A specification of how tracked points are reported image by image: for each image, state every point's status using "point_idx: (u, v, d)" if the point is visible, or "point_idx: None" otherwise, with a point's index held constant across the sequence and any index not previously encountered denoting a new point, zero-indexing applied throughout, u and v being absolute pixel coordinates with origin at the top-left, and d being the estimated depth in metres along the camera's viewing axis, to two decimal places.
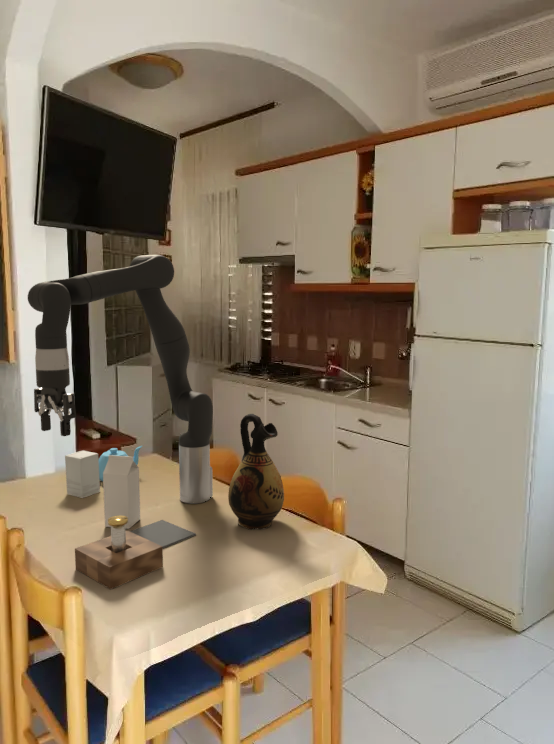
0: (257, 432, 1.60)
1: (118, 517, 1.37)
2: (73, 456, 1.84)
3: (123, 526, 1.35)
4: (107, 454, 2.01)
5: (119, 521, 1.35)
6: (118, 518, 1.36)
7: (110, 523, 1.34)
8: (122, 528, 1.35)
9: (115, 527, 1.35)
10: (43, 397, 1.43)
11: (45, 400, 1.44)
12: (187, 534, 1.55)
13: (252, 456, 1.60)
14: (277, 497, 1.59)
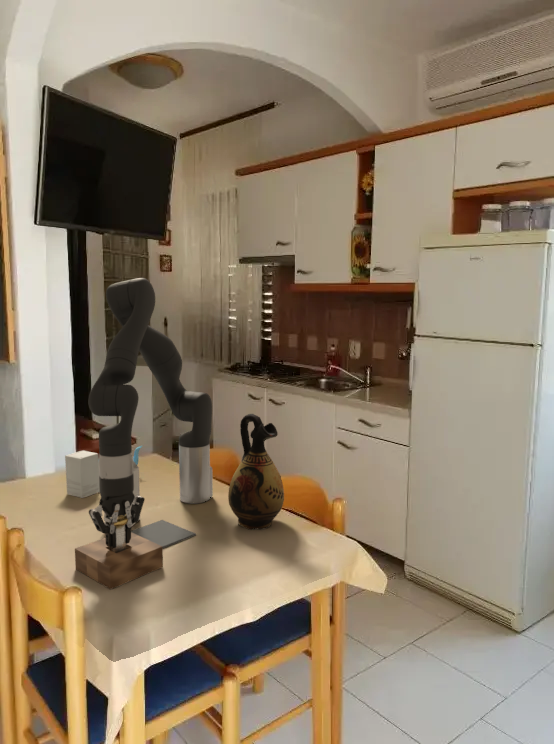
0: (257, 432, 1.60)
1: (118, 517, 1.37)
2: (73, 456, 1.84)
3: (123, 526, 1.35)
4: None
5: (119, 521, 1.35)
6: (118, 518, 1.36)
7: None
8: (123, 528, 1.35)
9: (115, 527, 1.35)
10: (117, 507, 1.33)
11: None
12: (187, 534, 1.55)
13: (252, 456, 1.60)
14: (277, 497, 1.59)
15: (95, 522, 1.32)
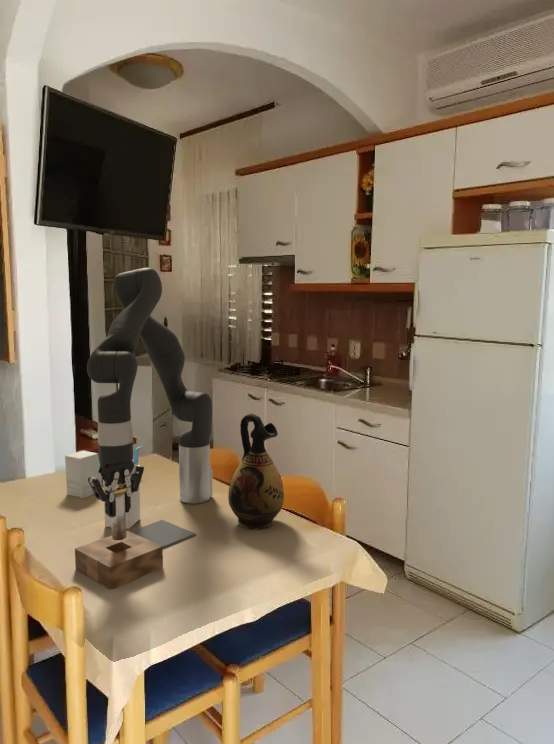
0: (257, 432, 1.60)
1: (118, 486, 1.36)
2: (73, 456, 1.84)
3: (123, 495, 1.34)
4: None
5: (119, 489, 1.34)
6: (117, 487, 1.35)
7: None
8: (122, 496, 1.34)
9: (115, 495, 1.34)
10: (116, 475, 1.32)
11: None
12: (187, 534, 1.55)
13: (252, 456, 1.60)
14: (277, 497, 1.59)
15: (94, 490, 1.31)
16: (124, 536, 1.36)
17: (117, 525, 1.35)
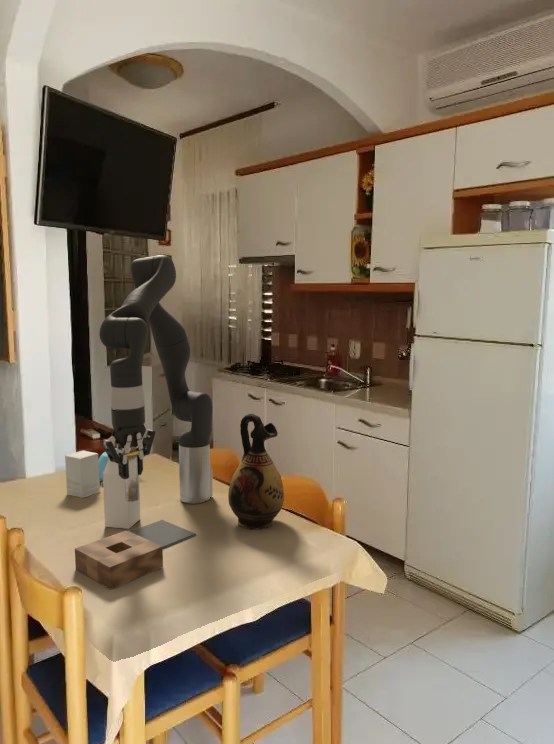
0: (257, 432, 1.60)
1: (130, 449, 1.40)
2: (73, 456, 1.84)
3: (135, 457, 1.39)
4: None
5: (131, 452, 1.38)
6: (130, 450, 1.40)
7: None
8: (135, 459, 1.39)
9: (127, 458, 1.38)
10: (129, 438, 1.36)
11: None
12: (187, 534, 1.55)
13: (252, 456, 1.60)
14: (277, 497, 1.59)
15: (108, 452, 1.35)
16: (137, 497, 1.40)
17: (130, 486, 1.39)
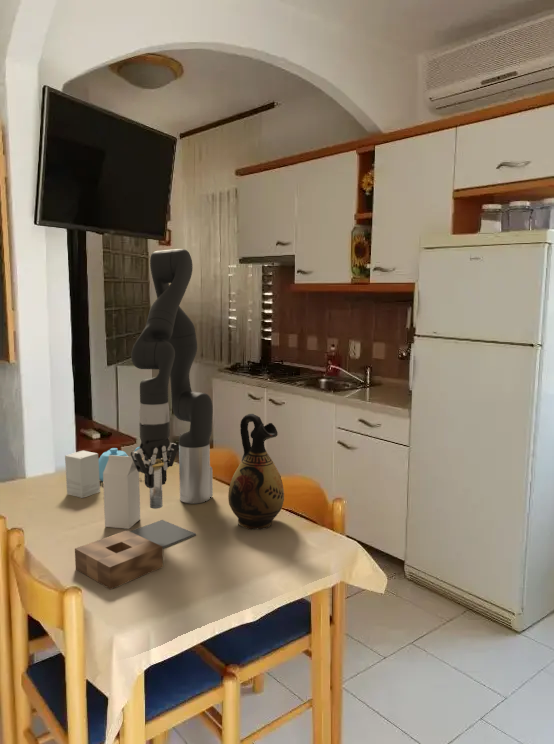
0: (257, 432, 1.60)
1: None
2: (73, 456, 1.84)
3: (160, 468, 1.52)
4: (107, 454, 2.01)
5: (157, 463, 1.51)
6: (155, 461, 1.53)
7: None
8: (160, 469, 1.52)
9: (153, 468, 1.51)
10: (155, 450, 1.50)
11: None
12: (187, 534, 1.55)
13: (252, 456, 1.60)
14: (277, 497, 1.59)
15: (136, 463, 1.48)
16: (161, 505, 1.53)
17: (155, 495, 1.52)
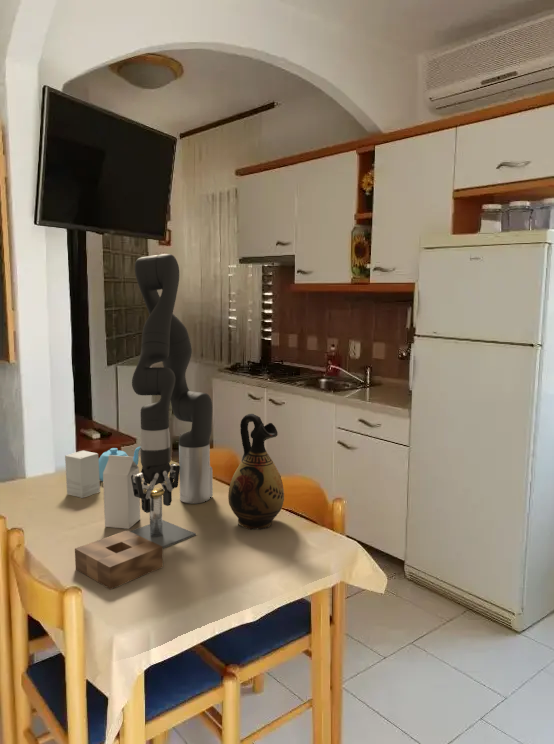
0: (257, 432, 1.60)
1: (155, 489, 1.54)
2: (73, 456, 1.84)
3: (160, 497, 1.53)
4: (107, 454, 2.01)
5: (157, 492, 1.52)
6: (155, 490, 1.54)
7: None
8: (160, 498, 1.53)
9: (153, 497, 1.52)
10: (156, 475, 1.51)
11: None
12: (187, 534, 1.55)
13: (252, 456, 1.60)
14: (277, 497, 1.59)
15: (135, 486, 1.49)
16: (161, 533, 1.54)
17: (155, 523, 1.53)
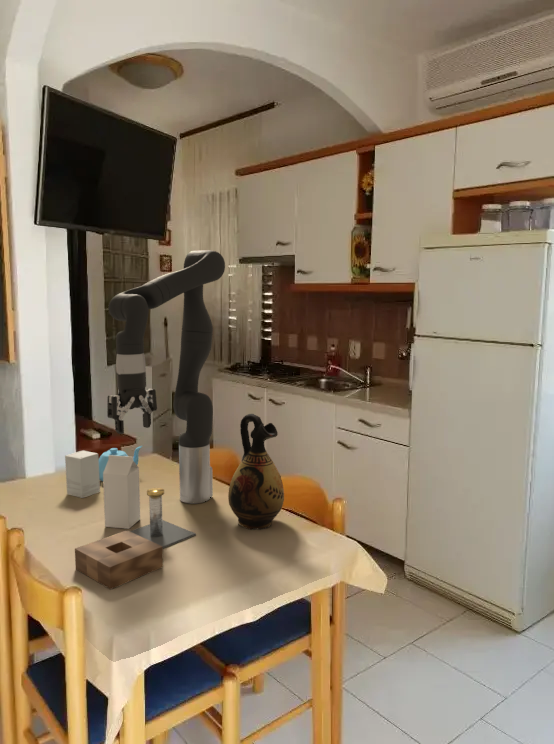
0: (257, 432, 1.60)
1: (155, 489, 1.55)
2: (73, 456, 1.84)
3: (160, 497, 1.53)
4: (107, 454, 2.01)
5: (157, 492, 1.52)
6: (155, 490, 1.54)
7: (149, 494, 1.52)
8: (160, 498, 1.53)
9: (153, 497, 1.52)
10: (132, 399, 1.56)
11: None
12: (187, 534, 1.55)
13: (252, 456, 1.60)
14: (277, 497, 1.59)
15: (110, 406, 1.54)
16: (161, 533, 1.54)
17: (155, 523, 1.53)
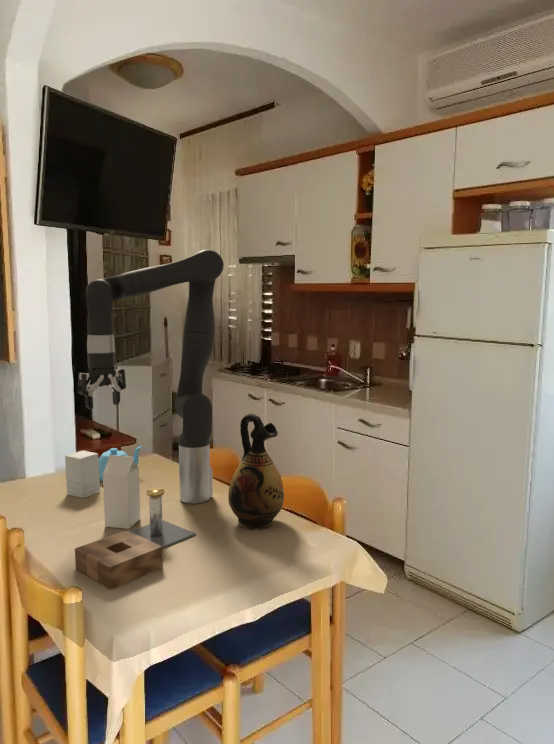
0: (257, 432, 1.60)
1: (155, 489, 1.55)
2: (73, 456, 1.84)
3: (160, 497, 1.53)
4: (107, 454, 2.01)
5: (157, 492, 1.52)
6: (155, 490, 1.54)
7: (149, 494, 1.52)
8: (160, 498, 1.53)
9: (153, 497, 1.52)
10: (101, 377, 1.68)
11: None
12: (187, 534, 1.55)
13: (252, 456, 1.60)
14: (277, 497, 1.59)
15: (80, 383, 1.66)
16: (161, 533, 1.54)
17: (155, 523, 1.53)
